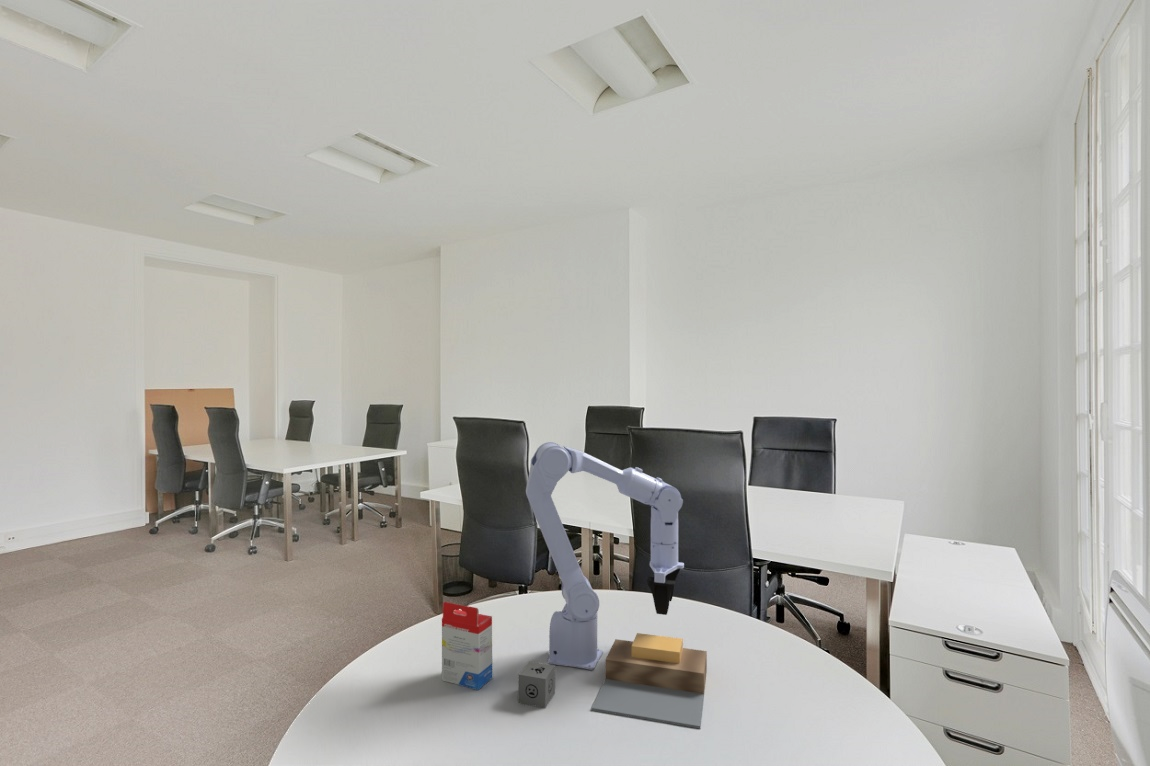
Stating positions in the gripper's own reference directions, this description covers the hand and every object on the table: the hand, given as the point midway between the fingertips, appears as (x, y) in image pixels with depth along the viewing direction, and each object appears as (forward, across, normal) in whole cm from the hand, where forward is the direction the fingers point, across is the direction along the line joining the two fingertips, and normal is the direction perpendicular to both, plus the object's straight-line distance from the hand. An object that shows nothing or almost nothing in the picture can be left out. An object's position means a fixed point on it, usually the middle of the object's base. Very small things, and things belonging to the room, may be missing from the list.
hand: (664, 606), depth 115 cm
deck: (+9, -10, 0) cm, 14 cm away
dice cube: (+10, -24, +19) cm, 32 cm away
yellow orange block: (+5, -9, 0) cm, 11 cm away
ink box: (+10, -22, +34) cm, 42 cm away
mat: (+9, -19, 0) cm, 22 cm away
